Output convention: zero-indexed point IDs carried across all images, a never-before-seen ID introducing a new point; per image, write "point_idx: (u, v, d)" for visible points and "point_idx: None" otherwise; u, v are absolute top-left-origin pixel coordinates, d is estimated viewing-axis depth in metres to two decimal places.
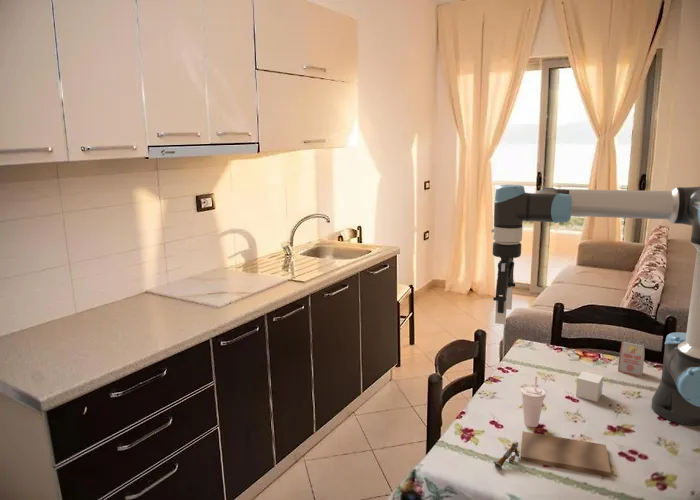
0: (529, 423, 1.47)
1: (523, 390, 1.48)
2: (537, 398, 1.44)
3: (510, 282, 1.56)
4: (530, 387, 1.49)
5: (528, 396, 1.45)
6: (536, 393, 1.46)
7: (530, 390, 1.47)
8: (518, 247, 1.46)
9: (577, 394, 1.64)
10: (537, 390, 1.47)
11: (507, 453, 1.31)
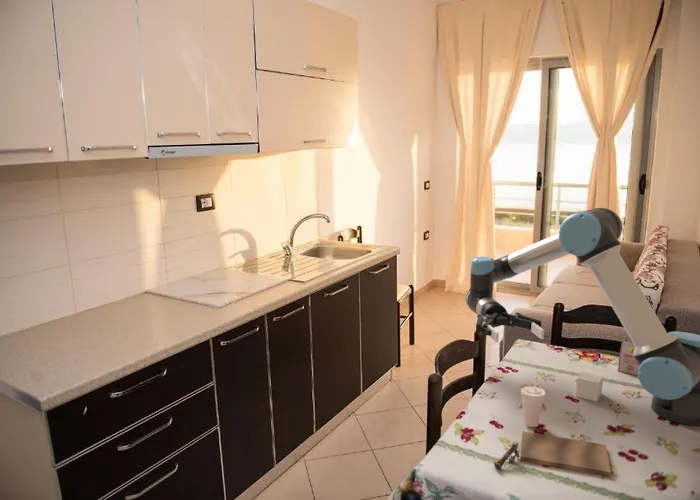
0: (529, 423, 1.47)
1: (523, 390, 1.48)
2: (537, 398, 1.44)
3: (527, 322, 1.63)
4: (530, 387, 1.49)
5: (528, 396, 1.45)
6: (536, 393, 1.46)
7: (530, 390, 1.47)
8: (487, 304, 1.73)
9: (577, 394, 1.64)
10: (537, 390, 1.47)
11: (507, 453, 1.30)
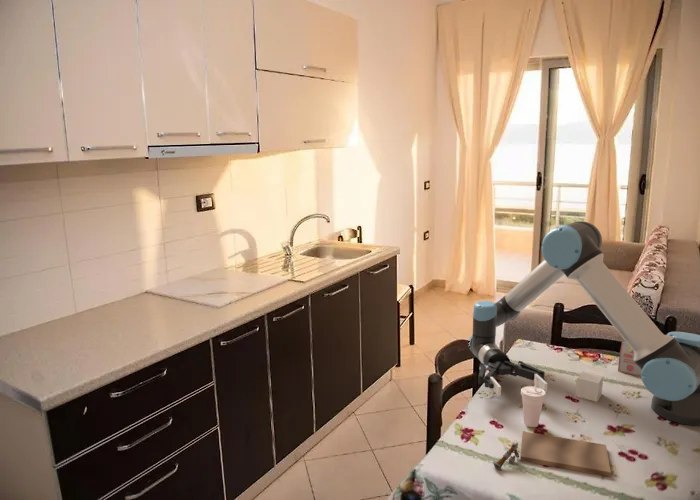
0: (529, 423, 1.47)
1: (523, 390, 1.48)
2: (537, 398, 1.44)
3: (530, 373, 1.61)
4: (530, 387, 1.49)
5: (528, 396, 1.45)
6: (536, 393, 1.46)
7: (530, 390, 1.47)
8: (490, 351, 1.71)
9: (577, 394, 1.64)
10: (537, 390, 1.47)
11: (507, 454, 1.30)
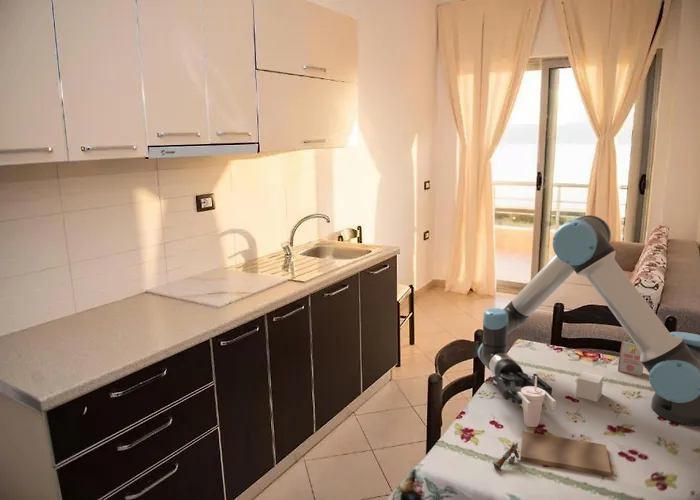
0: (529, 423, 1.47)
1: (523, 390, 1.48)
2: (537, 398, 1.44)
3: None
4: (530, 387, 1.49)
5: (528, 396, 1.45)
6: (536, 393, 1.46)
7: (530, 390, 1.47)
8: (501, 361, 1.63)
9: (577, 394, 1.64)
10: (537, 390, 1.47)
11: (506, 454, 1.30)
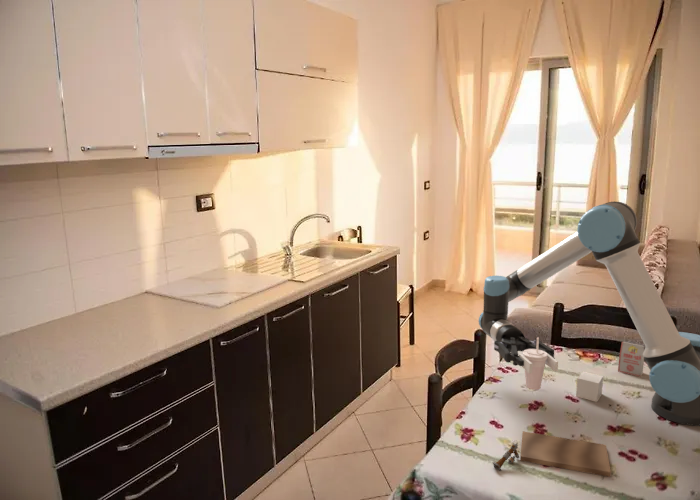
0: (531, 385, 1.45)
1: (525, 352, 1.46)
2: (539, 359, 1.42)
3: None
4: (532, 349, 1.47)
5: (530, 357, 1.43)
6: (538, 355, 1.44)
7: (532, 352, 1.45)
8: (503, 327, 1.61)
9: (577, 394, 1.64)
10: (539, 352, 1.45)
11: (506, 454, 1.30)
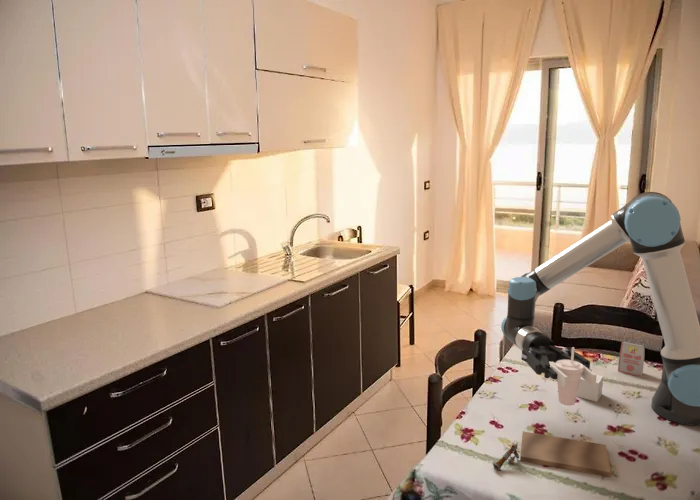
0: (565, 400, 1.30)
1: (558, 363, 1.30)
2: (575, 372, 1.27)
3: None
4: (565, 360, 1.32)
5: (564, 370, 1.28)
6: (573, 366, 1.28)
7: (566, 363, 1.30)
8: (530, 334, 1.46)
9: (577, 394, 1.64)
10: (574, 363, 1.30)
11: (506, 454, 1.30)
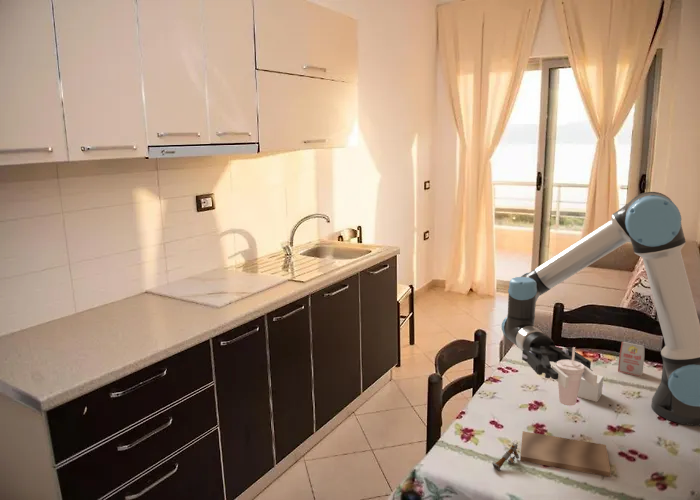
0: (566, 401, 1.30)
1: (559, 364, 1.30)
2: (576, 372, 1.27)
3: None
4: (566, 360, 1.32)
5: (565, 370, 1.27)
6: (574, 367, 1.28)
7: (567, 363, 1.30)
8: (531, 334, 1.46)
9: None
10: (575, 363, 1.30)
11: (506, 454, 1.30)
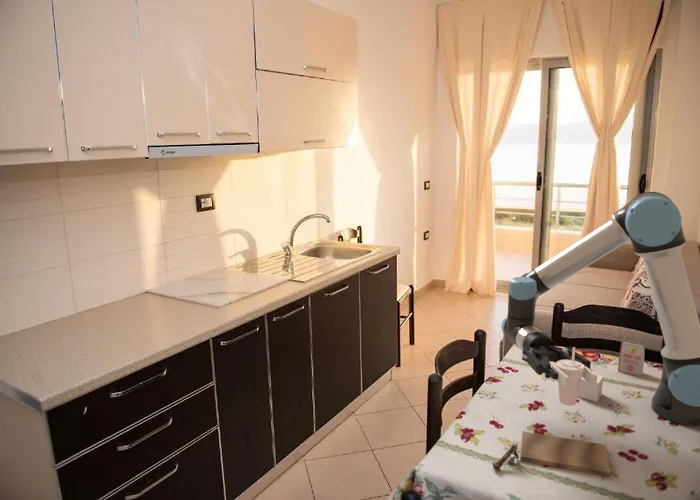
0: (566, 401, 1.30)
1: (559, 364, 1.30)
2: (576, 372, 1.27)
3: None
4: (566, 360, 1.32)
5: (565, 370, 1.27)
6: (574, 367, 1.28)
7: (567, 363, 1.30)
8: (531, 334, 1.46)
9: None
10: (575, 363, 1.30)
11: (506, 455, 1.30)
